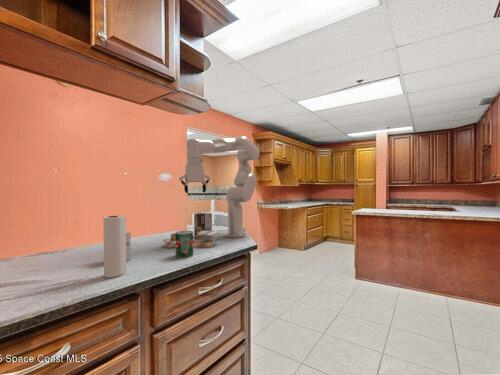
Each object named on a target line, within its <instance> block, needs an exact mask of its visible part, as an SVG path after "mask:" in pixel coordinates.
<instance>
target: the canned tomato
mask: <svg viewBox="0 0 500 375" xmlns="http://www.w3.org/2000/svg"><path fill="white" fill-rule="evenodd" d="M175 233H176V248H175V258H178V259H188V258H193V256H194V247H193V240H194V238H193V236H194V231H193V230H180V231H175Z"/></svg>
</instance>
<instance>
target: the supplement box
mask: <svg viewBox="0 0 500 375" xmlns="http://www.w3.org/2000/svg"><path fill="white" fill-rule="evenodd" d="M131 256H132V255H131V231H128V230H126V262H128V261H131Z"/></svg>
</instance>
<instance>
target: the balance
mask: <svg viewBox="0 0 500 375" xmlns="http://www.w3.org/2000/svg"><path fill="white" fill-rule="evenodd" d="M219 234H220V231H218V230H213V229H212V230H207V231H199V232H197V235H195V236H194V235H193V248H204V247H206V248H210V247H214V245H215V239H212V240H209V236H212V237H213V236H216V235H217V236H218V235H219ZM199 236H207V240H194V238H195V237H199ZM162 242H163V243H164V244H167V245H166V246H167V248H168V249H169V248H170V249H171V248H175V249H176V232H174V233H170V237H169V238H166V239H163V240H162Z"/></svg>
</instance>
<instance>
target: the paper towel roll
mask: <svg viewBox="0 0 500 375" xmlns="http://www.w3.org/2000/svg"><path fill="white" fill-rule="evenodd" d="M126 231H127V215H123V216H122V215H110V216H109V215H108V216H103V277H104V278H109V279H112V278H116V277H117V278H118V277H120V276H122V275H124V274H125V272H126V271H127V261H126Z"/></svg>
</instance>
